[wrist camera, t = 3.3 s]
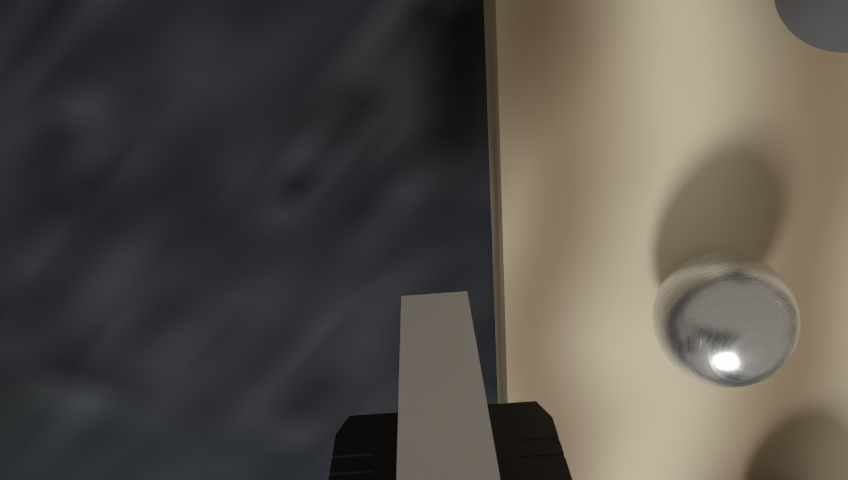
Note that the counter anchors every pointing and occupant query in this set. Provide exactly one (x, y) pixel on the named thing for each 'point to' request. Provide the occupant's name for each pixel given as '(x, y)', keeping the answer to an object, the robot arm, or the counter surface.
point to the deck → (665, 227)
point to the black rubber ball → (817, 22)
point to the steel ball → (726, 319)
